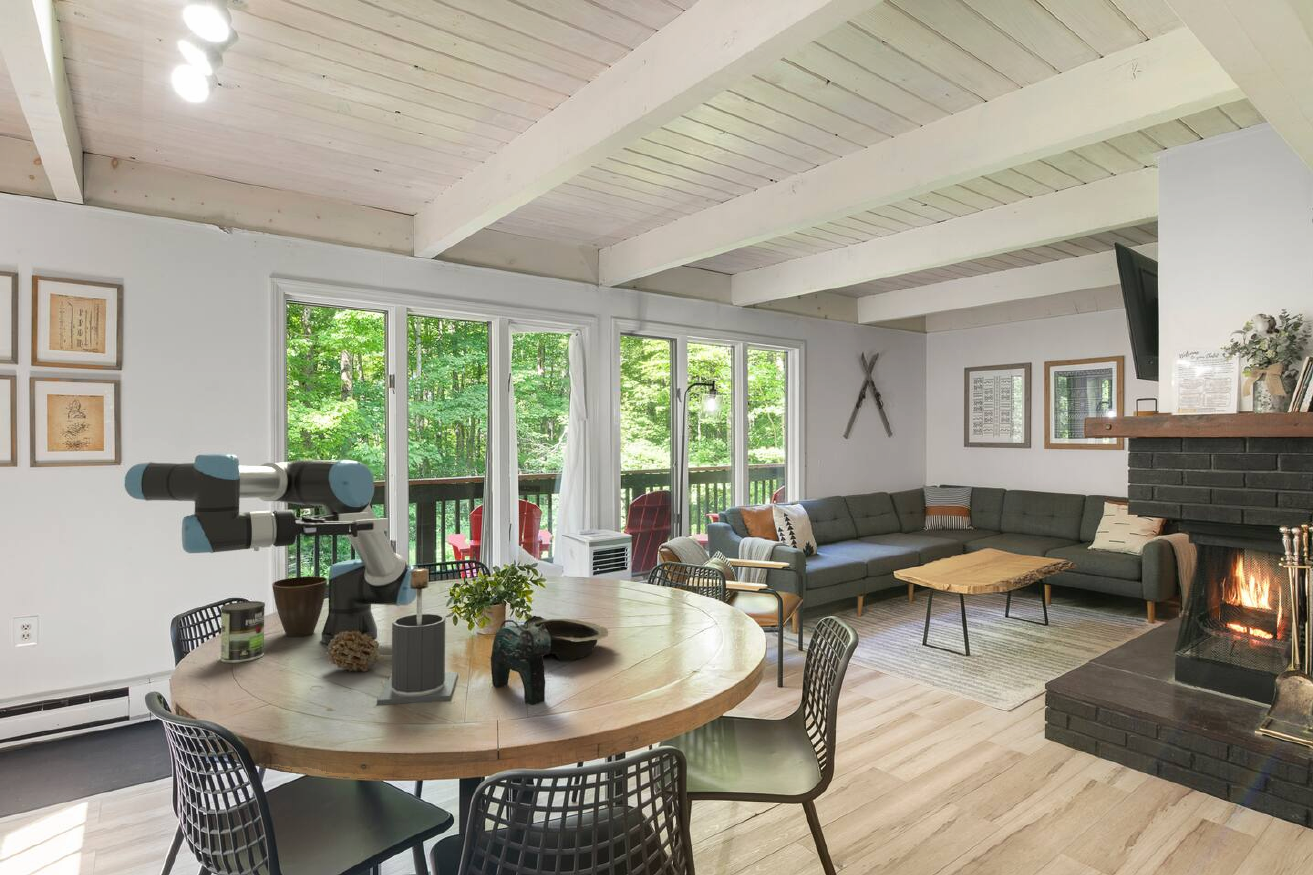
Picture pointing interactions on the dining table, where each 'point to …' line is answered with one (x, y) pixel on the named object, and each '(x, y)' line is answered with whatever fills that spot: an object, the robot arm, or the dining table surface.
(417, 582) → the plunger
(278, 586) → the plant pot
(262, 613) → the coffee can
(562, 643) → the stone bowl
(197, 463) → the robot arm
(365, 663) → the pine cone
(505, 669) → the dark animal figurine
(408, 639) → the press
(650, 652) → the dining table surface
